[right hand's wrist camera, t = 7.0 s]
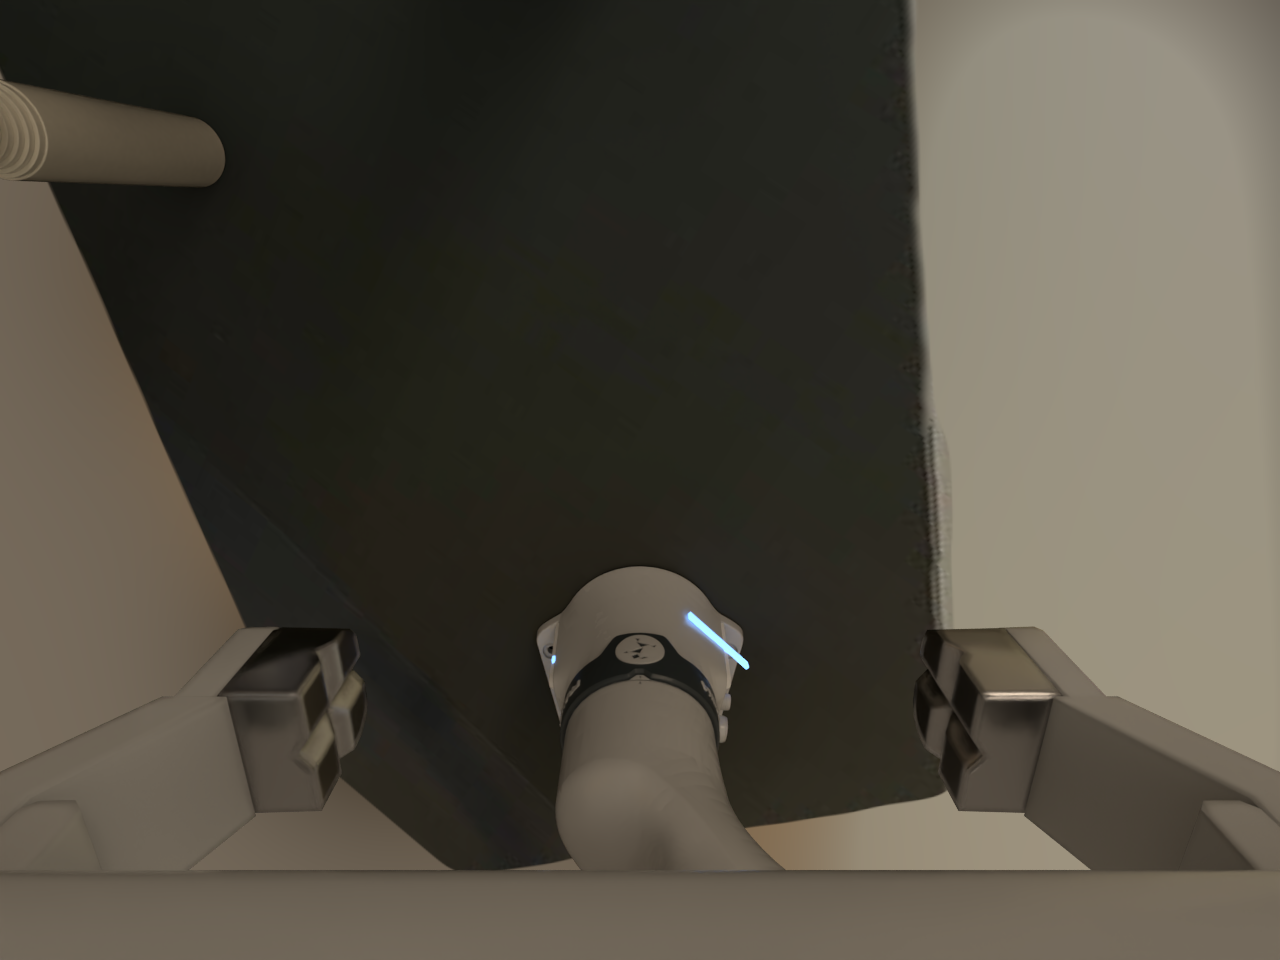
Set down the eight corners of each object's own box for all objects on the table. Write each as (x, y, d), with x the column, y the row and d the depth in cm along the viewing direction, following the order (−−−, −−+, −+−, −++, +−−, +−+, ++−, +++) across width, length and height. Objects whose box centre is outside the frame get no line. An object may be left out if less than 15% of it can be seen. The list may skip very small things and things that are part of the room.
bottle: (208, 201, 53) (-49, 199, 33) (148, 159, 52) (-156, 132, 32) (236, 144, 52) (-15, 107, 32) (174, 100, 51) (-125, 34, 31)
